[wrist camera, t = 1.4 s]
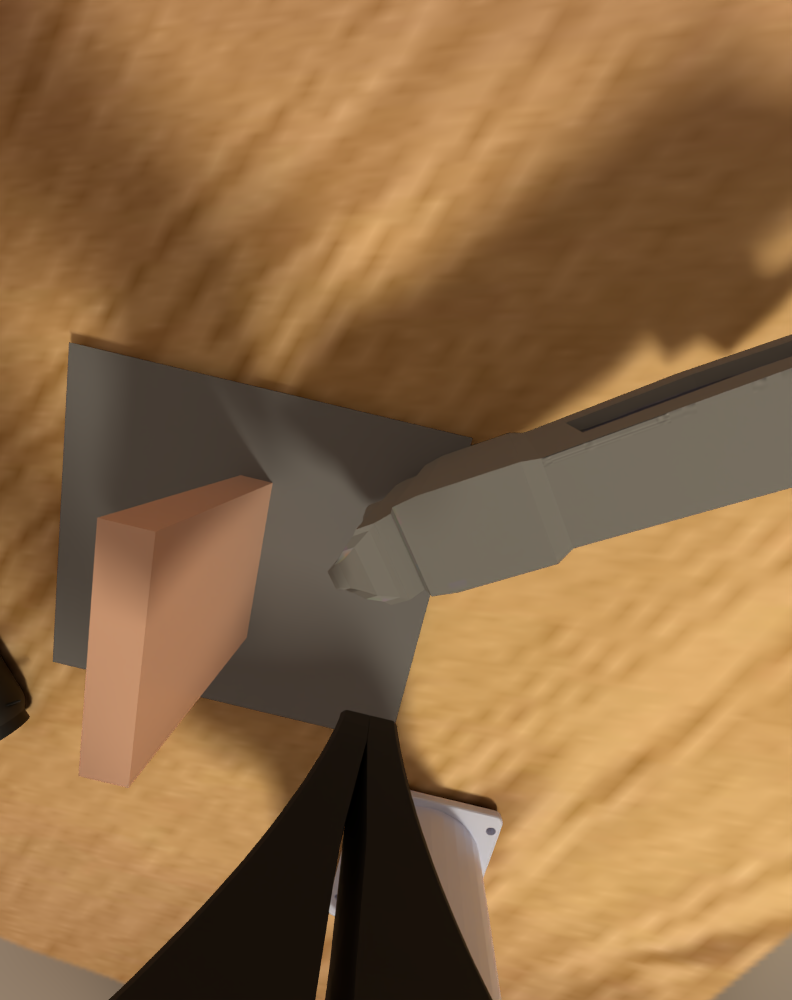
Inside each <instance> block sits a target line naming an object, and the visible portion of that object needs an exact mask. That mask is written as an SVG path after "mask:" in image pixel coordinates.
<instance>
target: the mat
mask: <svg viewBox="0 0 792 1000" xmlns="http://www.w3.org/2000/svg"><path fill="white" fill-rule="evenodd" d="M471 442H472V438H470V437H466V436H462V435H457V434H453V433H449V432H445V431H441V430H436V429H432V428H428V427H424V426H420V425H415V424H411V423H407V422H403V421H399V420H394V419H390V418H386V417H382V416H378V415H373V414H369V413H365V412H361V411H356V410H352V409H348V408H344V407H340V406H335V405H331V404H327V403H323V402H319V401H314V400H310V399H306V398H302V397H298V396H293V395H289V394H285V393H281V392H277V391H272V390H268V389H264V388H260V387H256V386H251V385H247V384H243V383H239V382H234V381H230V380H226V379H222V378H218V377H213V376H209V375H205V374H201V373H197V372H192V371H188V370H184V369H180V368H176V367H171V366H167V365H163V364H159V363H155V362H150V361H146V360H142V359H138V358H134V357H129V356H125V355H121V354H117V353H112V352H108V351H104V350H100V349H96V348H91V347H87V346H83V345H79V344H75V343H70V342H69V355H68V375H67V395H66V414H65V434H64V453H63V473H62V493H61V512H60V532H59V551H58V571H57V591H56V610H55V630H54V649H53V662H56V663H61V664H65V665H69V666H73V667H77V668H82V669H86V667H87V653H88V639H89V625H90V611H91V597H92V583H93V570H94V556H95V542H96V528H97V518H98V517H101V516H105V515H108V514H112V513H115V512H118V511H122V510H125V509H128V508H132V507H135V506H139V505H142V504H145V503H149V502H152V501H155V500H159V499H162V498H165V497H169V496H172V495H176V494H179V493H182V492H186V491H189V490H192V489H196V488H199V487H203V486H206V485H209V484H213V483H216V482H219V481H223V480H226V479H229V478H233V477H236V476H240V475H242V476H246V477H250V478H254V479H259V480H263V481H267V482H271V483H273V484H272V490H271V496H270V502H269V508H268V513H267V519H266V525H265V531H264V537H263V543H262V549H261V555H260V561H259V567H258V573H257V579H256V585H255V591H254V597H253V603H252V609H251V615H250V621H249V627H248V633H247V638H246V639H245V640H244V642H243V643H242V644H241V645H240V647H239V648H238V649H237V651H236V652H235V653H234V654H233V656H232V657H231V658H230V659H229V661H228V662H227V663H226V665H225V666H224V667H223V668H222V670H221V671H220V672H219V673H218V675H217V676H216V677H215V679H214V680H213V681H212V682H211V684H210V685H209V686H208V687H207V689H206V690H205V691H204V693H203V694H202V695H201V696H200V697H203V698H207V699H211V700H215V701H219V702H224V703H228V704H232V705H236V706H240V707H245V708H249V709H253V710H257V711H261V712H265V713H270V714H274V715H278V716H282V717H286V718H291V719H295V720H299V721H303V722H307V723H311V724H316V725H320V726H324V727H328V728H332V729H335V726H336V724H337V722H338V720H339V717H340V714H341V712H343V711H345V710H350V711H354V712H359V713H363V714H367V715H371V716H375V717H379V718H384V719H388V720H392V721H394V722H396V719H397V715H398V711H399V708H400V704H401V700H402V697H403V693H404V689H405V686H406V682H407V678H408V674H409V671H410V667H411V663H412V660H413V656H414V652H415V649H416V645H417V641H418V638H419V634H420V630H421V626H422V623H423V619H424V615H425V612H426V608H427V604H428V601H429V597H430V594H429V593H428V592H427V591H426V590H423V591H422V592H420V593H419V594H417V595H416V596H415V597H413V598H412V599H410V600H408V601H404V602H401V603H397V604H393V605H390V604H388V603H386V602H383V601H376V600H369V599H365V598H363V597H361V596H359V595H357V594H355V593H353V592H350V591H346V590H340V589H336V588H335V586H334V584H333V582H332V580H331V578H330V576H329V574H328V572H327V571H328V570H329V569H330V568H331V567H332V565H333V564H334V563H335V562H336V561H337V560H338V558H339V557H340V555H341V553H342V551H343V550H344V548H345V547H346V546H347V544H348V543H349V541H350V540H351V538H352V537H353V535H354V532H355V530H356V529H357V528H358V526H359V525H360V524H361V523H362V522H363V516H364V513H365V510H366V508H367V506H369V505H370V504H373V503H376V502H379V501H381V500H383V499H384V498H385V497H386V496H387V494H388V493H389V492H390V491H391V490H392V489H393V488H394V487H395V486H396V485H397V484H399V483H401V482H403V481H405V480H407V479H409V478H412V477H414V476H417V475H418V473H419V472H420V471H421V469H422V468H423V467H424V466H425V465H426V464H428V463H430V462H432V461H433V460H435V459H437V458H439V457H441V456H443V455H446V454H449V453H451V452H454V451H457V450H460V449H463V448H466V447H469V446H471ZM369 718H370V717H369Z"/></svg>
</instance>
